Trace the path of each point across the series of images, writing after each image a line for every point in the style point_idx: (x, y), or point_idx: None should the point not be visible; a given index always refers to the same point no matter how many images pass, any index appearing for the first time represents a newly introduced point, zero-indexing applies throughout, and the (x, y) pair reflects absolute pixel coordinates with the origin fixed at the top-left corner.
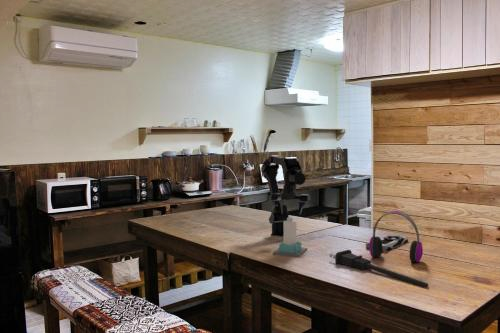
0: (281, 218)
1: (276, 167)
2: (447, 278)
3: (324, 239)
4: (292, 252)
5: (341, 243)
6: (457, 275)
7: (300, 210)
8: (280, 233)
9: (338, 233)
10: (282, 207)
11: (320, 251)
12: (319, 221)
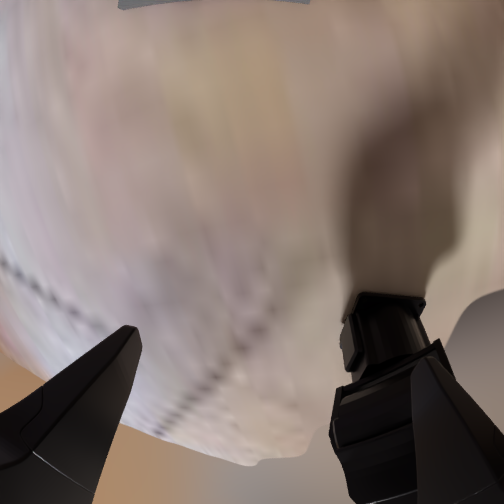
0: (388, 386)
1: None
2: None
3: (105, 268)
4: None
5: (24, 212)
6: None
7: (70, 370)
8: (373, 312)
9: None
10: (420, 461)
11: (57, 20)
12: (233, 459)
